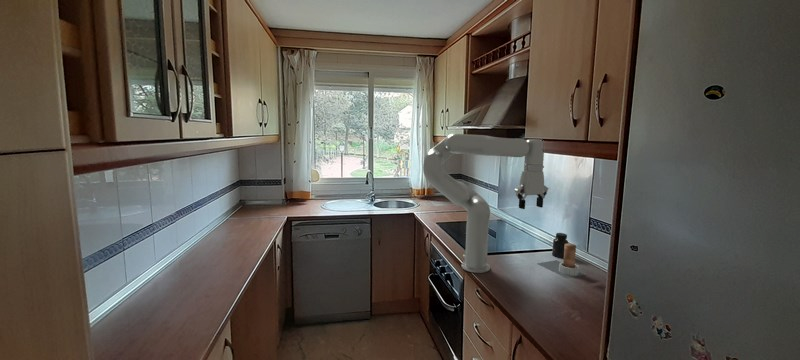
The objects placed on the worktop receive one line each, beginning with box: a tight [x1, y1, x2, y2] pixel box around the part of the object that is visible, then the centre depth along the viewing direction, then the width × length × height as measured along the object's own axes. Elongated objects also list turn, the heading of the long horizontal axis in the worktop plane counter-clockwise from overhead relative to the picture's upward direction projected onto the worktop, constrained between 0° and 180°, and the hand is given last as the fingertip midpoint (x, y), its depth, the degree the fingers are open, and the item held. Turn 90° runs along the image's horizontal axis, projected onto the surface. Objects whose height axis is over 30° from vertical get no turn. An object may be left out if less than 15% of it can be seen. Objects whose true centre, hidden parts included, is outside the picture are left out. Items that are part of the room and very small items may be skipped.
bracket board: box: [536, 260, 588, 279], centre depth 154 cm, size 17×12×4 cm
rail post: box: [562, 243, 577, 268], centre depth 150 cm, size 4×4×12 cm
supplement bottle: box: [551, 232, 570, 259], centre depth 170 cm, size 7×7×12 cm
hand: (530, 207), depth 151 cm, fingers open, 9 cm apart
